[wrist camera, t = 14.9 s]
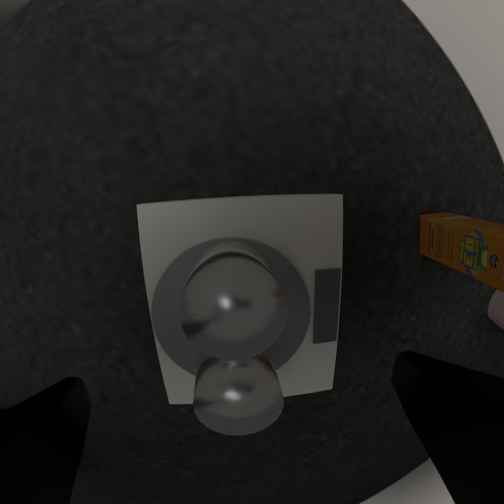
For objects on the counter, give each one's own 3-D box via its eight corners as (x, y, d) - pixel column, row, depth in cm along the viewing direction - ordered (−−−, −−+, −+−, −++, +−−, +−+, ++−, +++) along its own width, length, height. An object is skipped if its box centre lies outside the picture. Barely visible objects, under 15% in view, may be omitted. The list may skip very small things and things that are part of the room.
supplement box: (416, 213, 20) (518, 235, 10) (446, 211, 20) (543, 231, 11) (415, 255, 21) (510, 297, 11) (445, 251, 21) (536, 286, 11)
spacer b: (267, 237, 16) (286, 258, 12) (270, 311, 17) (287, 355, 13) (187, 243, 16) (173, 266, 11) (195, 316, 17) (186, 363, 12)
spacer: (266, 319, 18) (282, 365, 13) (271, 377, 18) (285, 429, 14) (193, 327, 17) (184, 375, 12) (204, 384, 18) (202, 438, 13)
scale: (324, 374, 22) (334, 393, 20) (172, 388, 21) (168, 409, 18) (330, 193, 19) (346, 194, 16) (145, 202, 18) (133, 205, 15)
